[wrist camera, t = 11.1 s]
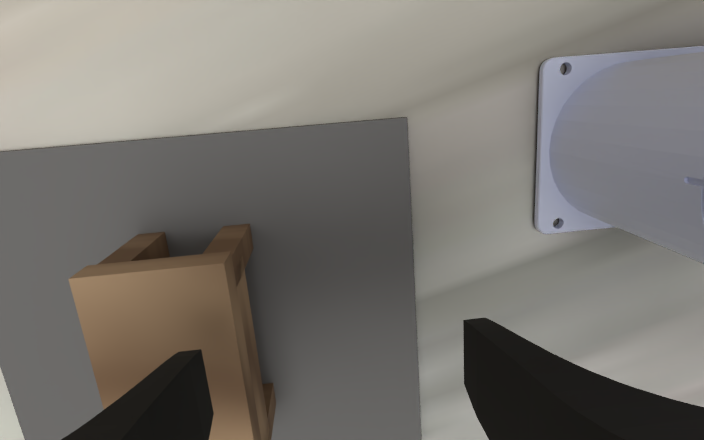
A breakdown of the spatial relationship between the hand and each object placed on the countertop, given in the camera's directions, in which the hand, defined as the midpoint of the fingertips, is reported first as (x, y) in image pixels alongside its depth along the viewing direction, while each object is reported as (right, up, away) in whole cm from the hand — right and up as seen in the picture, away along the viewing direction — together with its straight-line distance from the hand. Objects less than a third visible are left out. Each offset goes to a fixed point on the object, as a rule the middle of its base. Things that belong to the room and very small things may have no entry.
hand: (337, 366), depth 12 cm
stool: (-6, -1, +9) cm, 11 cm away
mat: (-6, -1, +10) cm, 12 cm away
